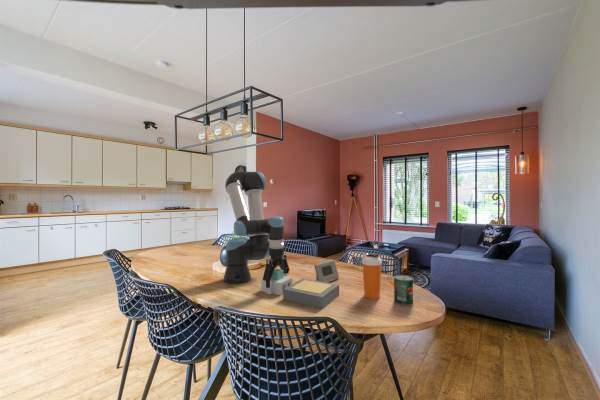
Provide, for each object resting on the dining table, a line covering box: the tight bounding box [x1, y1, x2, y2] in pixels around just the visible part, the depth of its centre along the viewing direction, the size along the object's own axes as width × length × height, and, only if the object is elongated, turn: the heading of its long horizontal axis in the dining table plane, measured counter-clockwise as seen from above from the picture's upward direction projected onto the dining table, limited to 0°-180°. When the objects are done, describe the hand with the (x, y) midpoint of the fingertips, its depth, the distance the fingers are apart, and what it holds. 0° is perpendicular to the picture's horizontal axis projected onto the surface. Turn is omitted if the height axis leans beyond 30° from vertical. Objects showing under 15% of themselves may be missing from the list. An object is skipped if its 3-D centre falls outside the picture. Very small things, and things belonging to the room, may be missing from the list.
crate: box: [271, 268, 284, 281], centre depth 137 cm, size 5×5×4 cm
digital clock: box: [314, 259, 340, 283], centre depth 150 cm, size 16×9×11 cm, turn 123°
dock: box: [282, 277, 340, 310], centre depth 126 cm, size 20×18×5 cm
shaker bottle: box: [361, 252, 383, 300], centre depth 127 cm, size 9×9×20 cm
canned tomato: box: [393, 274, 414, 307], centre depth 120 cm, size 8×8×11 cm
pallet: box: [260, 276, 293, 296], centre depth 137 cm, size 12×10×6 cm
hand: (277, 289), depth 137 cm, fingers open, 12 cm apart
